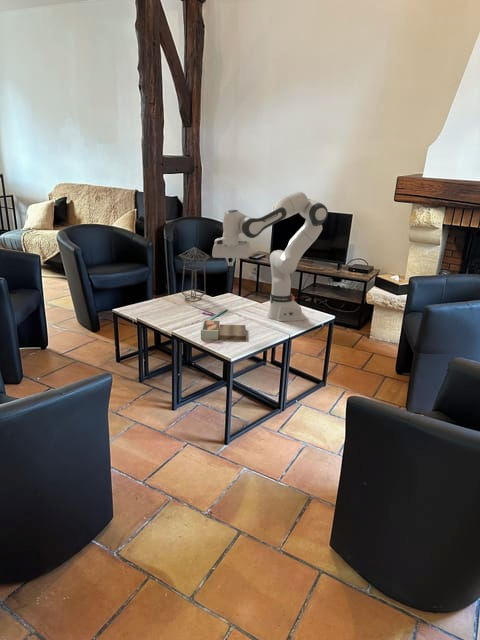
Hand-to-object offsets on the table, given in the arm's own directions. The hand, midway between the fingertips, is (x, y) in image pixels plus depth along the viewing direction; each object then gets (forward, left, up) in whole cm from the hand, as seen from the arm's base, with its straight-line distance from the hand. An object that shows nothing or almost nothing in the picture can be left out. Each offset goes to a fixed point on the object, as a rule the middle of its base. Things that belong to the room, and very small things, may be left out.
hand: (230, 265), depth 243 cm
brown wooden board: (-2, +19, -33) cm, 38 cm away
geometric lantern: (+24, -42, -33) cm, 59 cm away
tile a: (+7, +22, -32) cm, 39 cm away
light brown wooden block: (+8, +16, -30) cm, 35 cm away
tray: (+10, +19, -33) cm, 39 cm away
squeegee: (+12, -10, -34) cm, 38 cm away
